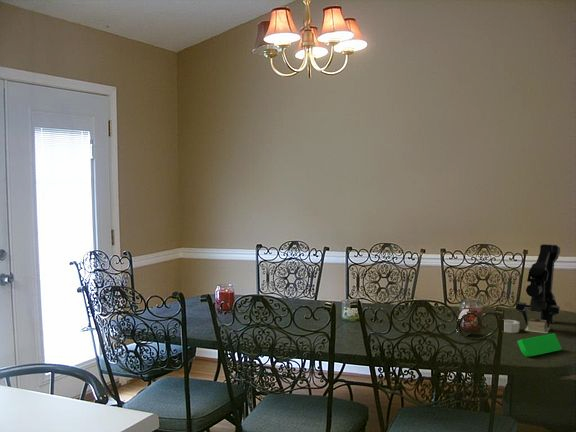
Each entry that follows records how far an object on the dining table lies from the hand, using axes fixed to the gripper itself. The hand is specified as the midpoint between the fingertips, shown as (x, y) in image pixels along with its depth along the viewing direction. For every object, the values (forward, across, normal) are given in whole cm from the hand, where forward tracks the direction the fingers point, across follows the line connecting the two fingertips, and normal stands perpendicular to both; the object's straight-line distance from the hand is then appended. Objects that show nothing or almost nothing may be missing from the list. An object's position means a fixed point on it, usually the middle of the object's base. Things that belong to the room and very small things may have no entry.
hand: (537, 325), depth 272 cm
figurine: (+2, -28, -24) cm, 37 cm away
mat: (+2, 0, 0) cm, 2 cm away
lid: (+2, 0, 0) cm, 2 cm away
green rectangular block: (+3, +3, -37) cm, 37 cm away
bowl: (+2, -11, -8) cm, 14 cm away
